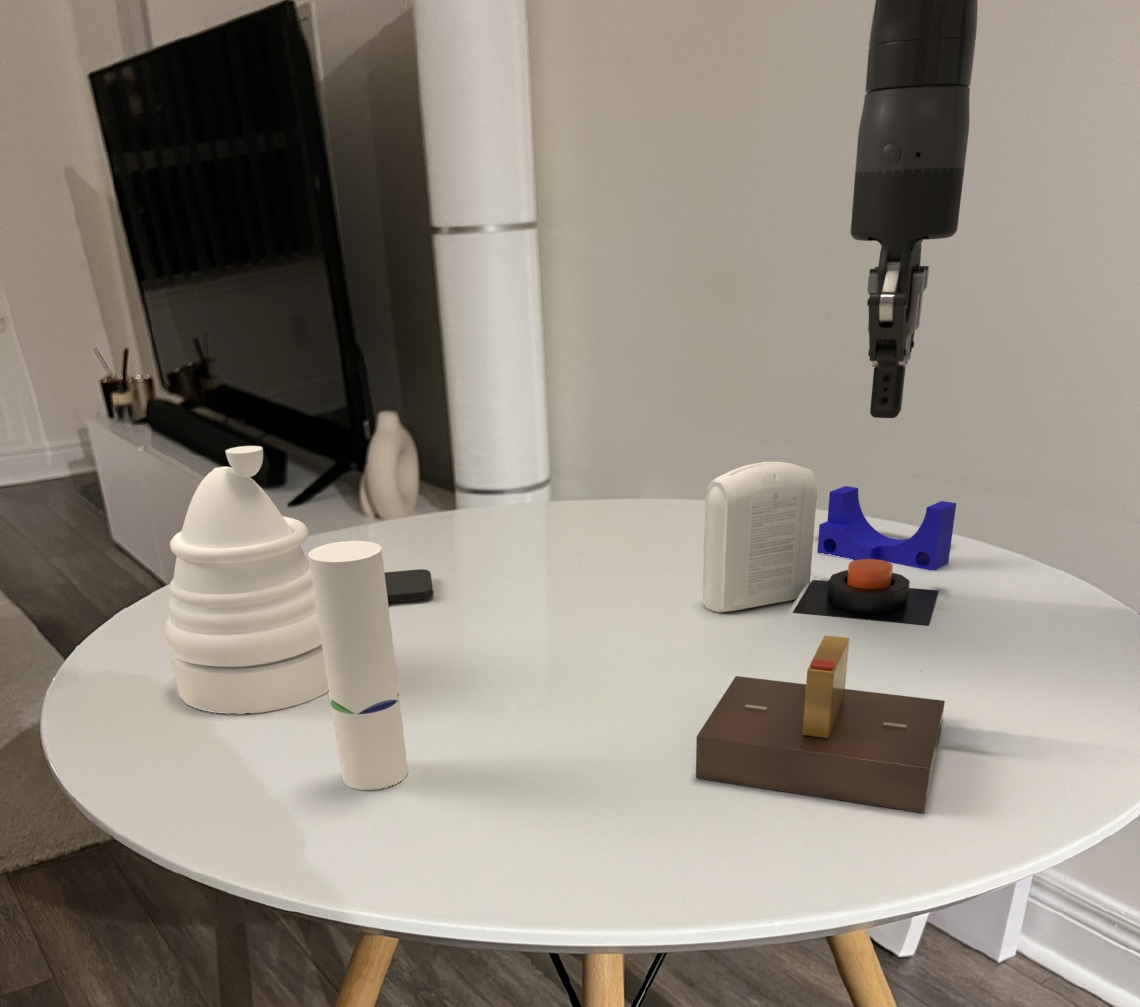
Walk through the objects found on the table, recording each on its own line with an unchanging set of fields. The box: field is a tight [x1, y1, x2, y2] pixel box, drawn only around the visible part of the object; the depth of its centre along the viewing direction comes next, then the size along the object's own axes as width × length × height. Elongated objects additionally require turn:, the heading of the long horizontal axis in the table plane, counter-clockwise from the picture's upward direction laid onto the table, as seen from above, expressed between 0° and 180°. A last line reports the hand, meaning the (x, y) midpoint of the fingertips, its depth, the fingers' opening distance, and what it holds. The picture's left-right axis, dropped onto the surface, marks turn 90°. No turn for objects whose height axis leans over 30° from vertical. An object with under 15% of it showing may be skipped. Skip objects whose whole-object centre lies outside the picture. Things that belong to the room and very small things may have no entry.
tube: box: [307, 540, 409, 791], centre depth 67 cm, size 4×4×15 cm
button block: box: [792, 569, 940, 627], centre depth 91 cm, size 11×9×4 cm
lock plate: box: [695, 675, 946, 814], centre depth 69 cm, size 14×10×3 cm
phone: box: [384, 568, 434, 603], centre depth 103 cm, size 7×1×15 cm
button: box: [847, 559, 894, 589], centre depth 90 cm, size 4×4×2 cm
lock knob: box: [803, 634, 850, 738], centre depth 67 cm, size 6×2×5 cm, turn 158°
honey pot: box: [164, 445, 329, 715], centre depth 81 cm, size 13×13×18 cm
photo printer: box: [702, 461, 818, 613], centre depth 95 cm, size 10×4×12 cm, turn 115°
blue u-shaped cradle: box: [816, 485, 957, 572], centre depth 106 cm, size 12×4×6 cm, turn 46°
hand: (885, 415), depth 84 cm, fingers closed
